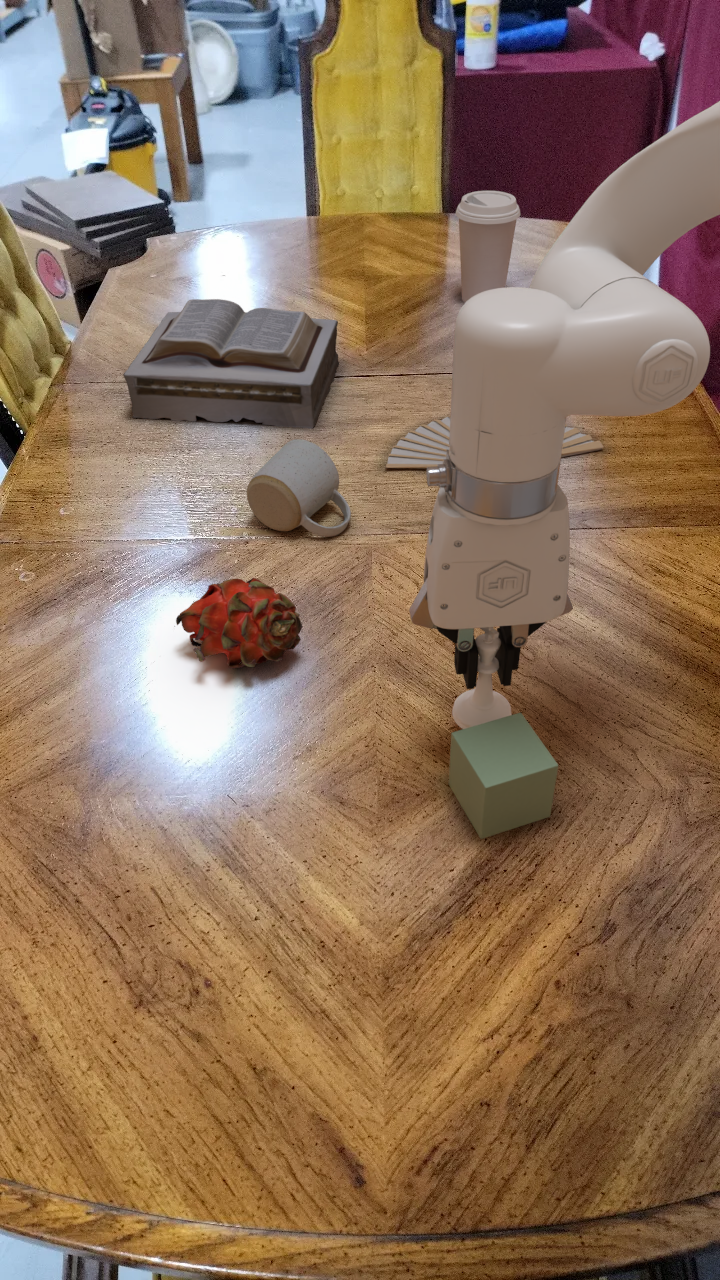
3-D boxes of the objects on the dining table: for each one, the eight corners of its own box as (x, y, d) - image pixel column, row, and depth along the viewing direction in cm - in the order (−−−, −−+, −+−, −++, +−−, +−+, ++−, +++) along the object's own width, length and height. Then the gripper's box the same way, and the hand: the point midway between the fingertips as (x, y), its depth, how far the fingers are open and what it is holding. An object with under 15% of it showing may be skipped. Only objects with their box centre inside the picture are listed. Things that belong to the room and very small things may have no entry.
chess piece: (479, 744, 80) (487, 651, 74) (440, 710, 83) (444, 618, 77) (523, 718, 82) (535, 625, 76) (484, 685, 85) (492, 594, 79)
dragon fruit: (313, 681, 92) (194, 678, 95) (321, 592, 94) (204, 592, 97) (282, 660, 84) (154, 657, 87) (292, 564, 86) (166, 565, 89)
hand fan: (613, 466, 116) (574, 406, 127) (614, 460, 116) (575, 400, 127) (391, 487, 114) (371, 424, 125) (391, 481, 113) (371, 418, 124)
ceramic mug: (244, 525, 108) (238, 464, 103) (284, 489, 114) (280, 430, 109) (327, 553, 104) (325, 491, 99) (365, 514, 110) (365, 454, 105)
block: (514, 763, 81) (521, 711, 77) (550, 817, 77) (559, 765, 73) (448, 784, 80) (451, 732, 76) (480, 840, 75) (485, 787, 72)
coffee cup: (451, 287, 159) (455, 189, 149) (510, 287, 158) (518, 188, 149) (452, 311, 152) (457, 209, 142) (515, 311, 151) (524, 209, 141)
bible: (189, 342, 145) (180, 275, 139) (363, 366, 138) (362, 296, 131) (107, 415, 128) (93, 342, 122) (300, 447, 121) (295, 371, 115)
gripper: (393, 516, 64) (392, 716, 76) (633, 499, 65) (595, 700, 77) (380, 457, 70) (381, 653, 82) (601, 443, 71) (570, 638, 83)
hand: (485, 674), depth 80 cm, fingers closed on chess piece
